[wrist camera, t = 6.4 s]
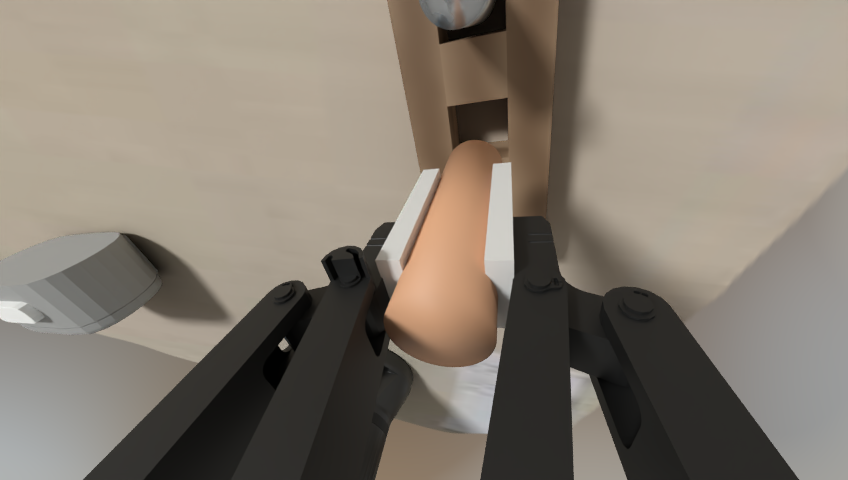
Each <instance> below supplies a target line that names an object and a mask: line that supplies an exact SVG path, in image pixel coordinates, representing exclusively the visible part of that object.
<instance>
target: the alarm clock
mask: <svg viewBox="0 0 848 480" xmlns="http://www.w3.org/2000/svg"><path fill="white" fill-rule="evenodd" d="M157 272H159V271H158V270H157V269H156V268H155V267H154V266H153V265H152V264H151V263H150V261H149V260H148V259H147V258H146V257H145V256H144V255H143V254H142V253H141V251H140V250H139V249H138V248H137V247H136V246H135V245H134V244H133V243H132V242H131V240H130V239H129V238H128V237H127V236H126V235H125V234H124V235H121V234H120V233H118V232H102V233H89V234H75V235H68V236H62V237H57V238H54V239H51V240H48V241H45V242H42V243H39V244H37V245H34V246H32V247H29V248H27V249H24V250H22V251H20V252H17V253H15V254H13V255H11V256H9V257H7V258H5V259H2V260H0V319H2V320H4V321H7V322H13V323H19V324H20V325H21V326H23V327H24V328H26V329H29V330H32V331H35V332H42V333H56V334H68V335H79V334H92V333H95V332H98V331H100V330H103V329H106V328H108V327H110V326H112V325H114V324H116V323H118V322H120V321H121V320H123V319H124V318H126V317H127V316H129V315H131V314H132V313H133V312H135V311H136V310H137V309H139V308H140V307H142V306H143V305H144V304H145V303H146V302H148V301H149V300H150V299H151V298H152V297H153V296H154V295H155V294H156V293H157V292H158V291H159V289H160V287H161V285H162V281H161V278H160V276H159V275H158V274H157Z"/></svg>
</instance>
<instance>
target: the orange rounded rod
mask: <svg viewBox="0 0 848 480" xmlns="http://www.w3.org/2000/svg"><path fill="white" fill-rule="evenodd" d="M497 163H502V158H501V156H500V154H499V152H498V151H497V149H496V148H495V147H494V146H492V145H491V144H489V143H487V142H485V141H481V140H469V141H466V142H463V143H461V144H460V145H458V146H457V147H456V148H455V149H454V150H453V151H452V153H451V154H450V156H449V159H448V161H447V163H446V166H445V168H444V171H443V173H442V176H441V179H440V181H439V184H438V186H437V189H436V191H435V194H434V196H433V198H432V201H431V203H430V206H429V208H428V211H427V213H426V216H425V218H424V221H423V223H422V226H421V228H420V230H419V233H418V235H417V238H416V240H415V243H414V245H413V248H412V250H411V253H410V255H409V258H408V260H407V262H406V265H405V267H404V270H403V272H402V274H401V276H400V278H399V280H398V283H397V285H396V287H395V290H394V292H393V295H392V297H391V300H390V302H389V304H388V307H387V309H386V312H385V315H384V327H385V330H386V332H387V334H388V336H389V338H390V339H391V340H392V341H393V343H394V344H395V345H396V346H398V347H399V348H400V349H401V350H403V351H404V352H405V353H407V354H409V355H410V356H412V357H414V358H416V359H419V360H421V361H424V362H427V363H430V364H434V365H438V366H445V367H464V366H470V365H474V364H477V363H479V362H481V361H483V360H485V359H486V358H488V357H489V356H490V355H491V354H492V352H493V351H494V349H495V347H496V343H497V314H498V294H497V290H496V287H495V285H494V284H493V282H492V281H491V279H490V278H489V277H488V276H487V275H486V274H485V265H484V256H485V245H486V234H487V224H488V213H489V202H490V191H491V180H492V169H493V164H497Z"/></svg>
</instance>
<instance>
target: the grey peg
mask: <svg viewBox="0 0 848 480" xmlns="http://www.w3.org/2000/svg"><path fill="white" fill-rule="evenodd" d="M495 1H496V0H419V3H420V6H421V8H422V10H423V12H424V14H425V15H426V17H427V18H428V19H429V20H430V21H431V22H432V23H433V24H434V25H436V26H438V27H439V28H442V29H446V30H456V29H461V28H465V27H470V26H474V25H478V24H480V23H482V22H484V21H485V20H486V19H487V18H488V17H489V16H490V14H491V12H492V11H493V8H494V5H495Z"/></svg>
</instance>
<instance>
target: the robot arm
mask: <svg viewBox="0 0 848 480" xmlns="http://www.w3.org/2000/svg"><path fill="white" fill-rule="evenodd" d="M440 179H441V176H440V170H439V169H428V170H423V172H422V173H421V175H420V177H419V179H418V181H417V183H416V185H415V187H414V188H413V190H412V192H411V194H410V196H409V198H408V200H407V202H406V203H405V205H404V207H403V209H402V211H401V213H400V215H399V217H398V218H397V220H396V222H387V223H384V224H382V225H381V226H380V227H379V228H377V229H376V230H375V232H374V233H373V235H372V237H371V240H369V242H368V243H367V246H366V247H365V248H364V250H363V251H362V250H361V248H359V247H356V246H345V247H341V248H338V249H336V250H333V251H332V252H330V253H329V254H327V255H326V256H325V257H324V258H323V259H322V260H321V262H322V264H323V266H324V268H325V271H326V273H327V275H328V277H329V279H330V281H331V282H330V284H329V286H325V287H321V288H316V289H312V290H307V288H306V286H305V285H304V283H303V282H301V281H298V280H297V281H289V282H285V283H282V284H280V285H279V286H277V287H275V288H274V289H273V290H271V291H270V292H269V293H268V294H267V295H266V296H265V297H264V298H263V299H262V300H261V301H260V302H259V303H258V304H257V305H256V306H255V307H254V308H253V309H252V310H251V311H250V312H249V313H248V314H247V315H246V316H245V317H244V318H243V319H242V320H241V321H240V322H239V323H238V324H237V325H236V326H235V327H234V328H233V329H232V330H231V331H230V332H229V333H228V334H227V335H226V336H225V337H224V338H223V339H222V340H221V341H220V342H219V343H218V344H217V345H216V346H215V347H214V348H213V349H212V350H211V351H210V352H209V353H208V354H207V355H206V356H205V357H204V358H203V359H202V360H201V361H200V362H199V363H198V364H197V365H196V366H195V367H194V368H193V369H192V370H191V371H190V372H189V373H188V374H187V375H186V376H185V377H184V378H183V379H182V380H181V381H180V383H178V384H177V386H176V387H175V388H174V389H173V390H172V391H171V392H170V393H169V394H168V395H167V396H166V397H165V398H164V399H163V400H162V401H161V402H160V403H159V404H158V405H157V406H156V407H155V408H154V409H153V410H152V411H151V412H150V413H149V414H148V415H147V416H146V417H145V418H144V419H143V420H142V421H141V422H140V423H139V424H138V425H137V426H136V427H135V428H134V429H133V430H132V431H131V432H130V433H129V434H128V435H127V436H126V437H125V438H124V439H123V440H122V441H121V442H120V443H119V444H118V445H117V446H116V447H115V448H114V449H113V450H112V451H111V452H110V453H109V454H108V455H107V456H106V457H105V458H104V459H103V460H102V461H101V462H100V463H99V464H98V465H97V466H96V467H95V468H94V469H93V470H92V471H91V472H90V473H89V474H88V475H87V476H86V477H85V478H84V479H83V480H375V478H376V474H377V470H378V467H379V463H380V459H381V455H382V452H383V448H384V445H385V441H386V437H387V433H388V430H389V426H390V424H391V422H392V420H393V419H394V417H395V416H396V414H397V412H398V411H399V409H400V408H401V406H402V404H403V403H404V401H405V400H406V398H407V396H408V395H409V392H410V389H411V385H412V381H413V374H412V371H411V369H410V368H409V366H408V365H407V364H406V363H405V362H404V361H403V360H402V359H401V358H400V357H398V356H397V355H395V354H394V353H392V352H390V351H388V345H389V341H390V338H389V336H388V334H387V332H386V330H385V327H384V315H385V312H386V309H387V307H388V304H389V302H390V300H391V297H392V295H393V292H394V290H395V287H396V285H397V283H398V280H399V278H400V276H401V274H402V272H403V270H404V267H405V265H406V262H407V260H408V258H409V255H410V253H411V250H412V248H413V245H414V243H415V240H416V238H417V235H418V233H419V230H420V228H421V226H422V223H423V221H424V218H425V216H426V213H427V211H428V208H429V206H430V203H431V201H432V198H433V196H434V194H435V191H436V189H437V186H438V184H439V181H440ZM484 265H485V274H486V275H487V276H488V277H489V278H490V279H491V281H492V282H493V284H494V285H495V287H496V290H497V294H498V314H497V327H498V328H505V331H504V338H503V344H502V350H501V356H500V362H499V368H498V375H497V381H496V387H495V393H494V399H493V405H492V411H491V418H490V424H489V430H488V436H487V442H486V448H485V455H484V462H483V467H482V473H481V479H480V480H574V475H573V474H574V472H573V444H572V443H573V442H572V412H571V382H570V367H571V368H574V369H577V370H579V371H582V372H585V373H587V374H589V375H590V378H591V381H592V384H593V386H594V389H595V392H596V395H597V397H598V400H599V403H600V406H601V408H602V411H603V414H604V417H605V419H606V422H607V425H608V427H609V430H610V433H611V436H612V438H613V441H614V444H615V447H616V449H617V452H618V455H619V458H620V460H621V463H622V466H623V469H624V471H625V474H626V477H627V480H799V479H798V478H797V476H796V475H795V474H794V472H793V471H792V470H791V468H790V467H789V466H788V464H787V463H786V461H785V460H784V459H783V458H782V456H781V455H780V453H779V452H778V451H777V449H776V448H775V447H774V445H773V444H772V443H771V442H770V440H769V439H768V437H767V436H766V434H765V433H764V432H763V430H762V429H761V428H760V426H759V425H758V424H757V422H756V421H755V420H754V418H753V417H752V416H751V415H750V413H749V412H748V410H747V409H746V407H745V406H744V405H743V403H742V402H741V401H740V399H739V398H738V397H737V395H736V394H735V393H734V391H733V390H732V389H731V387H730V386H729V385H728V383H727V382H726V380H725V379H724V378H723V376H722V375H721V374H720V372H719V371H718V370H717V368H716V367H715V366H714V364H713V363H712V362H711V360H710V359H709V357H708V356H707V355H706V354H705V352H704V351H703V349H702V348H701V347H700V345H699V344H698V343H697V341H696V340H695V339H694V337H693V336H692V335H691V333H690V332H689V330H688V329H687V328H686V326H685V325H684V324H683V322H682V321H681V320H680V318H679V317H678V316H677V314H676V313H675V312H674V310H673V309H672V308H671V306H670V305H669V304H668V303H667V302H666V301H664V300H663V299H662V298H661V297H659V296H657V295H656V294H654V293H652V292H650V291H647V290H643V289H640V288H636V287H620V288H614V289H612V290H610V291H609V292H607V293H606V294H605V296H604V297H603V296H599V295H595V294H591V293H587V292H584V291H581V290H579V289H577V288H575V287H573V286H571V285H570V284H568V283H567V282H566V281H565V279H564V278H563V277H562V276H561V273H560V271H559V266H558V261H557V256H556V251H555V246H554V243H553V236H552V232H551V227H550V223H549V222H548V221H547V220H546V219H545V218H544V217H543V216H522V217H513V210H512V176H511V162H508V163H497V164H493V169H492V180H491V191H490V202H489V213H488V224H487V234H486V245H485V256H484ZM283 338H285V339H286V341H287V342H288V344H289V346H288V347H287V348H286V349H284V350H281V349H280V348H279V346H278V344H279V343H280V342H281V341H282V340H283Z"/></svg>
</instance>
